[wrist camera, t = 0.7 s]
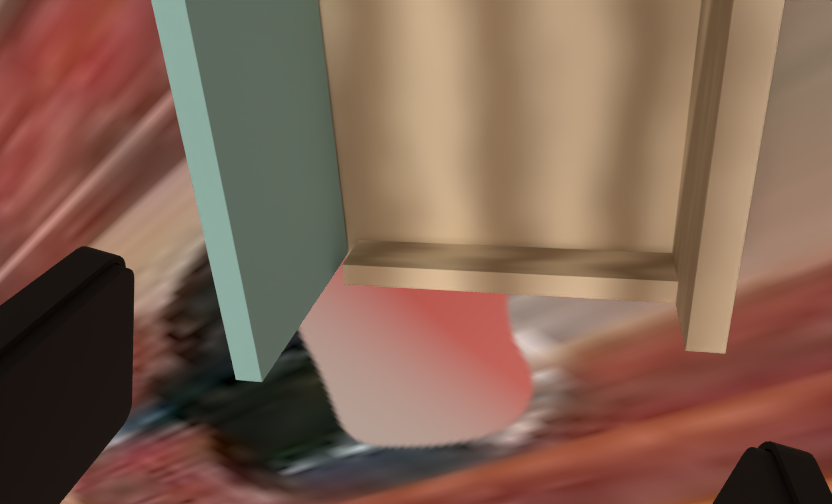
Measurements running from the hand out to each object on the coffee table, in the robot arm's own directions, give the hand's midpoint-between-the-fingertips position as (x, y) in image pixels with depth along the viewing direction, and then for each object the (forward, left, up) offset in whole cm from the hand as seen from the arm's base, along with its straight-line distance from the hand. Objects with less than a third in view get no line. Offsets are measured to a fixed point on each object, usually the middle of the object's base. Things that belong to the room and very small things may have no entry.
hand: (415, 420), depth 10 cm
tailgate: (+12, +1, -25) cm, 28 cm away
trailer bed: (+1, +1, -29) cm, 29 cm away
